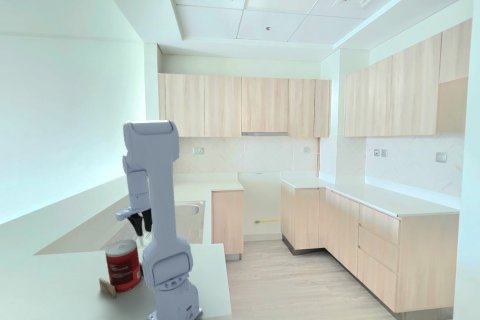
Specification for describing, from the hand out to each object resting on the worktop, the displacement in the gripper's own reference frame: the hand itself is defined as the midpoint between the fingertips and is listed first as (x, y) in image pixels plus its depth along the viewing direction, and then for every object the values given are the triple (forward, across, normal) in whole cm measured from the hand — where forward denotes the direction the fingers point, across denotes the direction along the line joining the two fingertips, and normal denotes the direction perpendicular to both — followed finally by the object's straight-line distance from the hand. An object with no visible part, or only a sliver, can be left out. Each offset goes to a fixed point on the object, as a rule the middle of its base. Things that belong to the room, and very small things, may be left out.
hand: (144, 233), depth 71 cm
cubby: (+9, +10, +4) cm, 14 cm away
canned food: (+10, +10, +4) cm, 14 cm away
